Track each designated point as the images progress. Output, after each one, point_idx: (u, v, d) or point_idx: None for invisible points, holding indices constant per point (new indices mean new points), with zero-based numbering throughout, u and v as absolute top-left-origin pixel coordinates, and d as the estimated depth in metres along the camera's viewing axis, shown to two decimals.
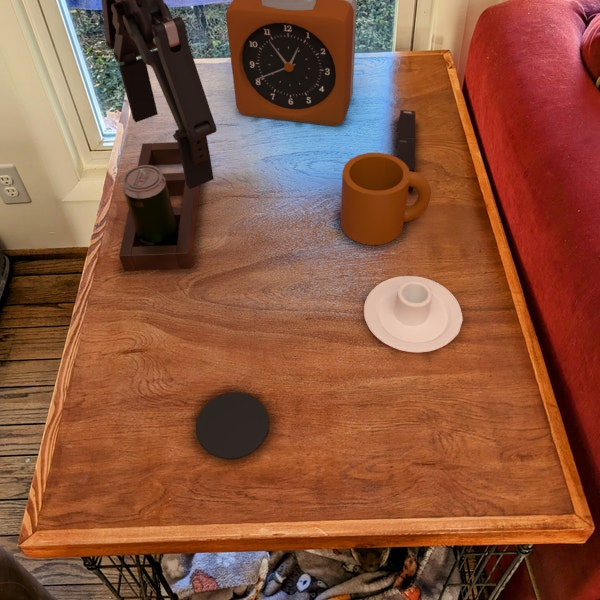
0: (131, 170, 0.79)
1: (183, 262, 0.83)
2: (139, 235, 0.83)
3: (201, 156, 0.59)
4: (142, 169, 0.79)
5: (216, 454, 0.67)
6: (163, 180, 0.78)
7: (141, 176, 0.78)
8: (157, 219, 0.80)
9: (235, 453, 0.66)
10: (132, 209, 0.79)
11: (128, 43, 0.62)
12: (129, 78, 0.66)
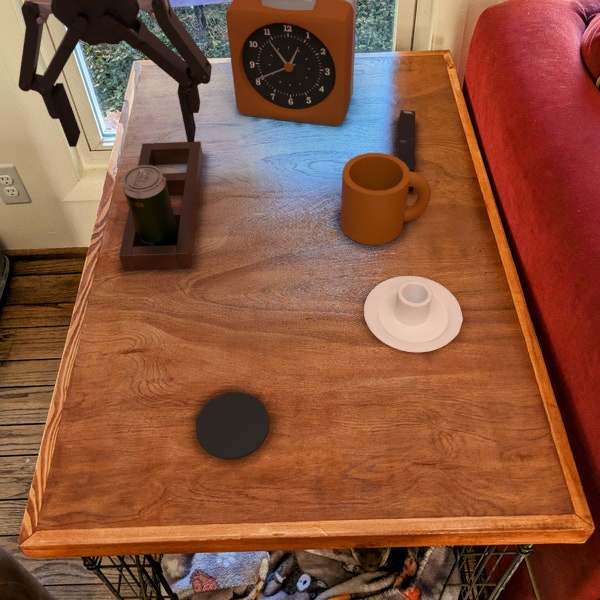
0: (131, 170, 0.79)
1: (183, 262, 0.83)
2: (139, 235, 0.83)
3: None
4: (142, 169, 0.79)
5: (216, 454, 0.67)
6: (163, 180, 0.78)
7: (141, 176, 0.78)
8: (157, 219, 0.80)
9: (235, 453, 0.66)
10: (132, 209, 0.79)
11: None
12: (62, 104, 0.68)
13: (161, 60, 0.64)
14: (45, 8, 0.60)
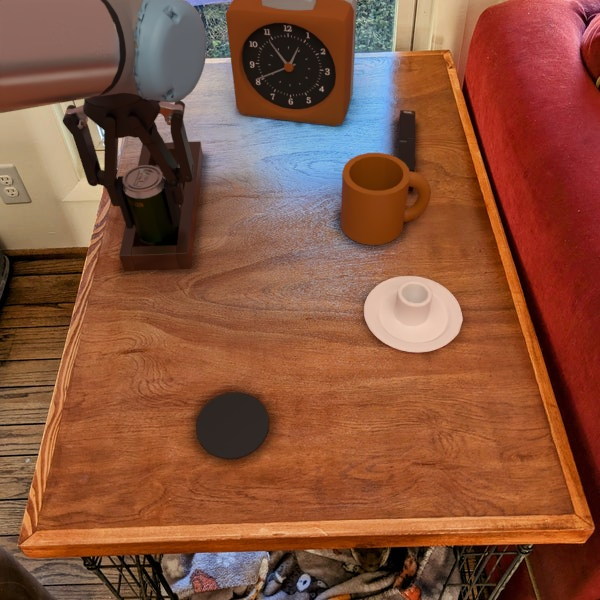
0: (131, 170, 0.79)
1: (183, 262, 0.83)
2: (139, 235, 0.83)
3: (182, 195, 0.80)
4: (142, 169, 0.79)
5: (216, 454, 0.67)
6: (163, 180, 0.78)
7: (141, 176, 0.78)
8: (157, 219, 0.80)
9: (235, 453, 0.66)
10: (132, 209, 0.79)
11: (115, 157, 0.75)
12: (123, 195, 0.79)
13: (161, 159, 0.74)
14: (80, 114, 0.70)
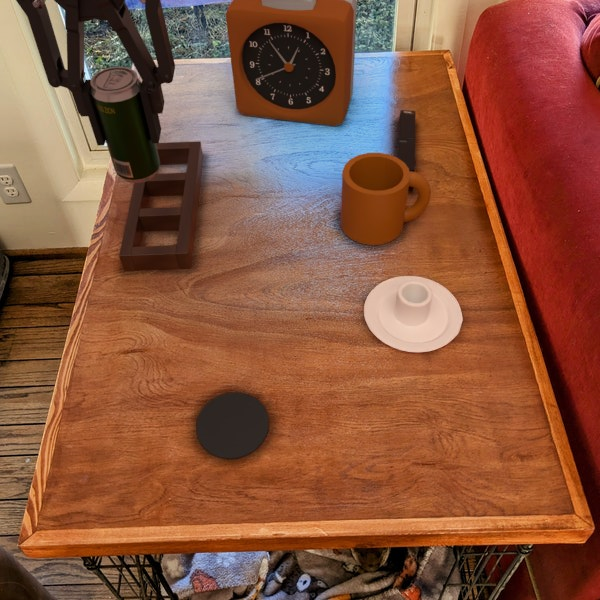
0: (101, 72, 0.67)
1: (183, 262, 0.83)
2: (111, 153, 0.71)
3: None
4: (114, 71, 0.67)
5: (216, 454, 0.67)
6: (138, 83, 0.66)
7: (112, 78, 0.66)
8: (132, 131, 0.68)
9: (235, 453, 0.66)
10: (102, 119, 0.67)
11: (81, 50, 0.63)
12: (92, 101, 0.67)
13: (134, 51, 0.62)
14: None
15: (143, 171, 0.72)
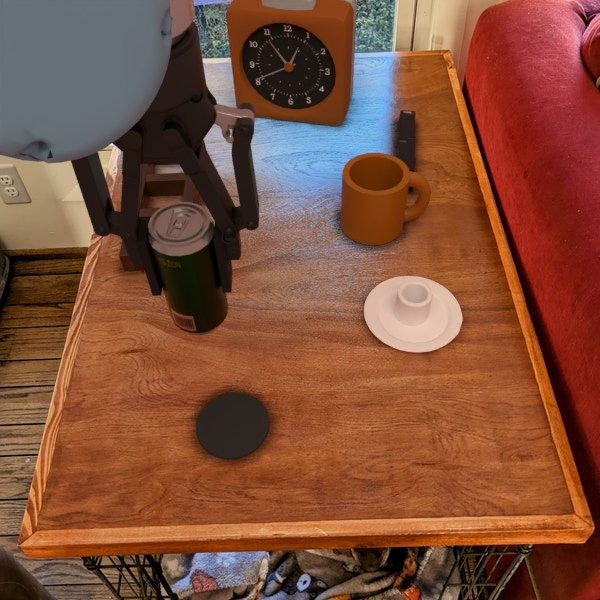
0: (161, 210, 0.51)
1: None
2: (170, 304, 0.55)
3: None
4: (178, 208, 0.51)
5: (216, 454, 0.67)
6: (211, 226, 0.50)
7: (177, 220, 0.50)
8: (200, 284, 0.52)
9: (235, 453, 0.66)
10: (162, 270, 0.51)
11: (139, 193, 0.47)
12: (149, 248, 0.51)
13: (211, 196, 0.46)
14: None
15: (209, 323, 0.56)
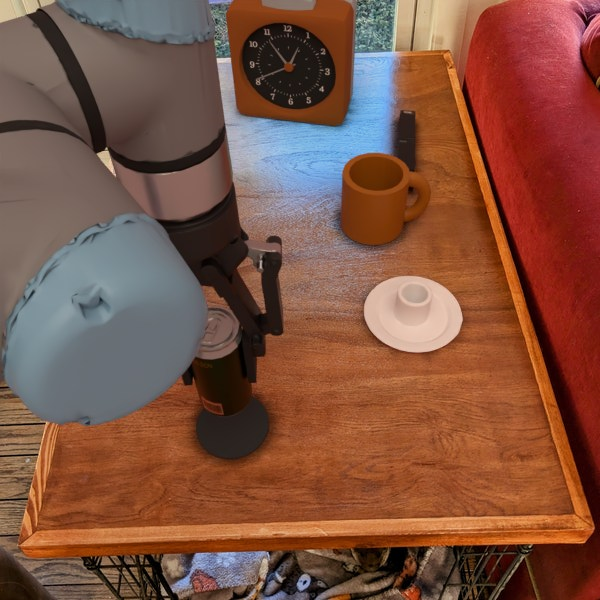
0: None
1: None
2: (200, 392, 0.60)
3: None
4: (209, 312, 0.56)
5: (216, 454, 0.67)
6: (239, 329, 0.56)
7: (209, 324, 0.55)
8: (228, 379, 0.57)
9: (235, 453, 0.66)
10: (195, 368, 0.56)
11: None
12: None
13: (242, 311, 0.52)
14: None
15: (236, 408, 0.62)
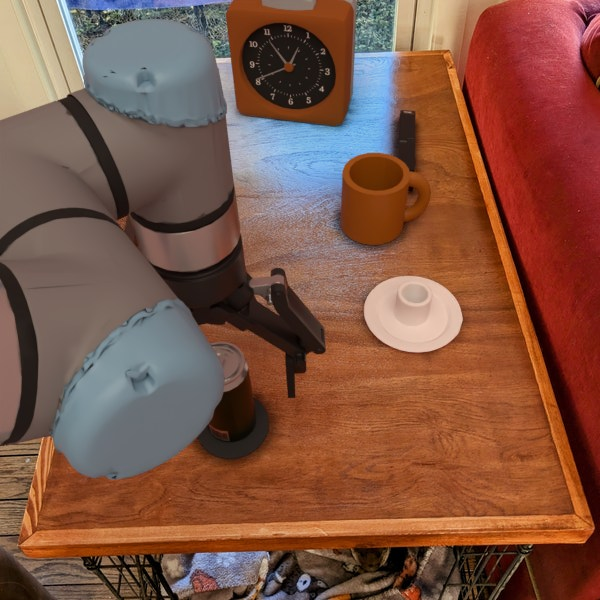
0: None
1: None
2: None
3: None
4: (217, 348, 0.61)
5: (216, 454, 0.67)
6: (245, 364, 0.60)
7: None
8: (235, 410, 0.62)
9: (235, 453, 0.66)
10: None
11: None
12: None
13: (272, 337, 0.54)
14: None
15: (241, 435, 0.66)
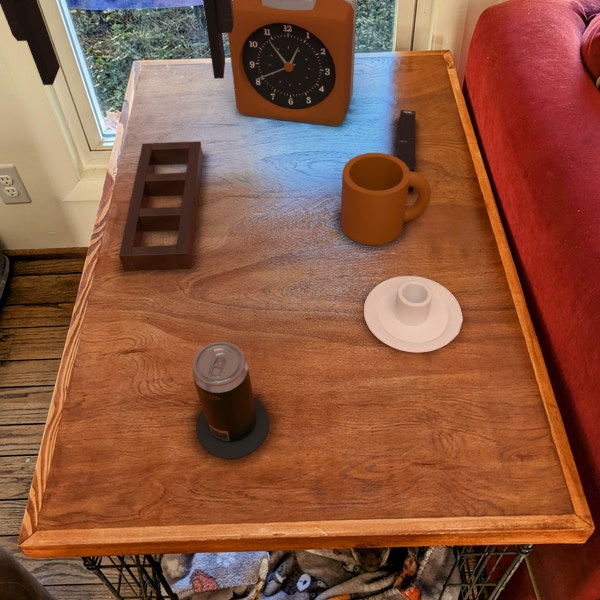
0: (203, 350, 0.61)
1: (183, 262, 0.83)
2: (208, 421, 0.65)
3: None
4: (217, 348, 0.61)
5: (216, 454, 0.67)
6: (245, 364, 0.60)
7: (217, 359, 0.60)
8: (235, 410, 0.62)
9: (235, 453, 0.66)
10: (203, 399, 0.61)
11: None
12: (31, 16, 0.46)
13: None
14: None
15: (241, 435, 0.66)
